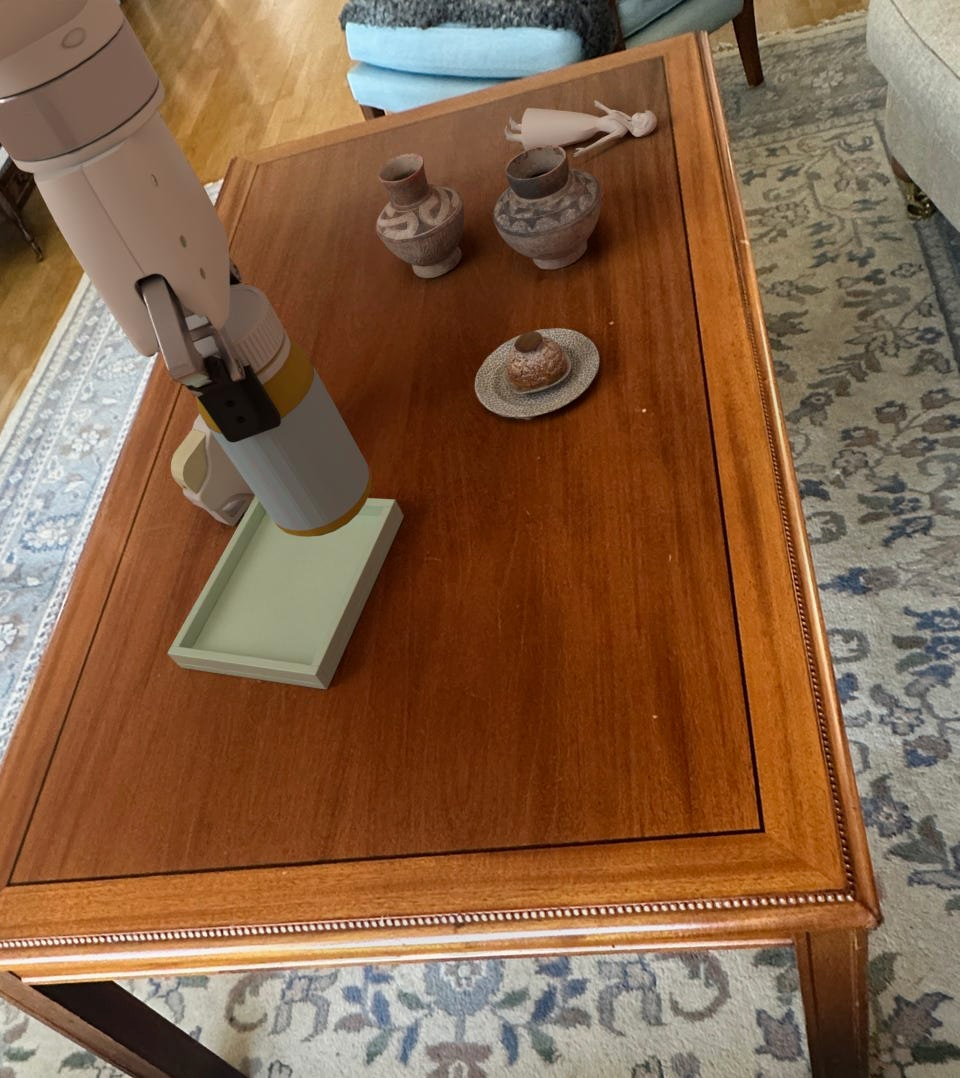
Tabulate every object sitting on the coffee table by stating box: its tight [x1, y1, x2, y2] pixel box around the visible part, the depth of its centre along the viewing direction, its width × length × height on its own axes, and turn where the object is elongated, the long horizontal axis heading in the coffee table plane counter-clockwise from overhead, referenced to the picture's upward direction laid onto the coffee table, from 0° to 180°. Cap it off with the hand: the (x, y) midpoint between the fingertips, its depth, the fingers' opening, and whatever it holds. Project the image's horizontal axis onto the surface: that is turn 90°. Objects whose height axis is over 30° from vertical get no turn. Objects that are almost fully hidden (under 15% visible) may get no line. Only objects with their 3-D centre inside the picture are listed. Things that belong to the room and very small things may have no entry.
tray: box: [166, 496, 405, 690], centre depth 84 cm, size 18×15×2 cm
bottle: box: [185, 283, 373, 537], centre depth 58 cm, size 7×7×15 cm
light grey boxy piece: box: [170, 413, 255, 527], centre depth 92 cm, size 11×3×15 cm
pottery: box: [375, 145, 602, 279], centre depth 102 cm, size 11×25×12 cm, turn 74°
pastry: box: [474, 327, 600, 421], centre depth 91 cm, size 12×12×5 cm
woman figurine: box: [504, 100, 657, 158], centre depth 116 cm, size 12×4×18 cm
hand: (253, 386), depth 56 cm, fingers closed on bottle, 7 cm apart
